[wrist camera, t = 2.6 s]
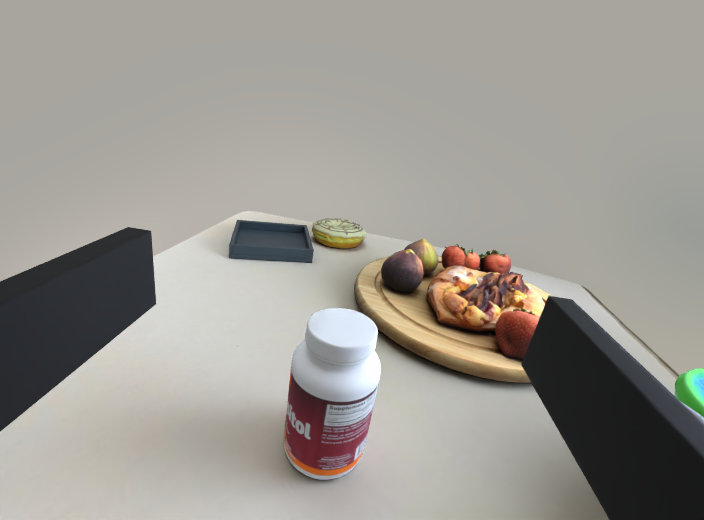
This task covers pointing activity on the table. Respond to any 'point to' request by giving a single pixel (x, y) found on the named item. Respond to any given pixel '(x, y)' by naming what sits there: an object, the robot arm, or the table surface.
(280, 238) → the tray
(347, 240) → the decorated donut
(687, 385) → the snack cup
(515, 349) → the wooden plate
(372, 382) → the pill bottle
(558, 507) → the table surface
